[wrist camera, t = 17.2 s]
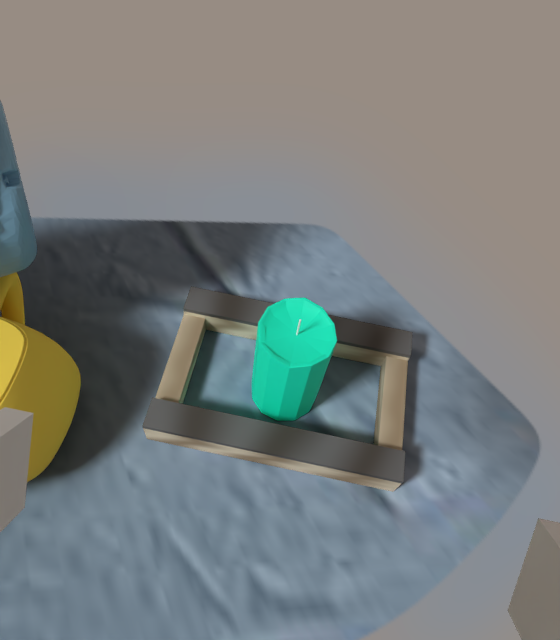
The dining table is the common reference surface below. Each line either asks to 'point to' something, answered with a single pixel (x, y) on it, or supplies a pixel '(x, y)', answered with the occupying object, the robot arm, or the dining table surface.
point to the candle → (291, 357)
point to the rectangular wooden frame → (273, 439)
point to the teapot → (35, 377)
